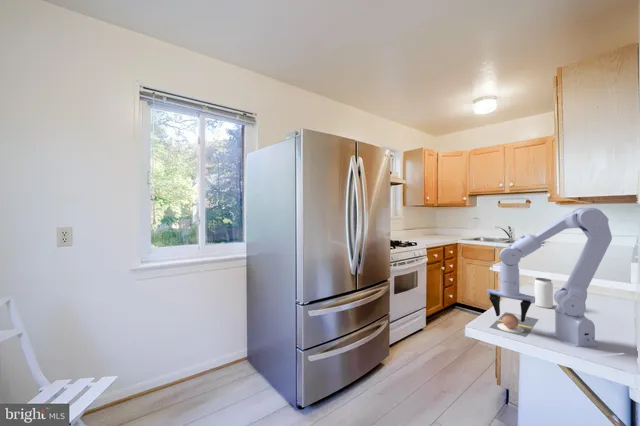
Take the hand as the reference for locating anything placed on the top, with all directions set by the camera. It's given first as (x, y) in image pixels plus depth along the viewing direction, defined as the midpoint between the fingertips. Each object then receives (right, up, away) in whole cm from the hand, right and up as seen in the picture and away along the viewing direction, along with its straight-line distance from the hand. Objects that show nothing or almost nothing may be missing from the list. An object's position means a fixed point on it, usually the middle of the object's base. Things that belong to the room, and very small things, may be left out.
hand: (510, 318), depth 101 cm
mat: (+5, -4, +4) cm, 8 cm away
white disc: (0, -4, 0) cm, 4 cm away
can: (+31, -4, +24) cm, 39 cm away
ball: (0, -1, 0) cm, 1 cm away
